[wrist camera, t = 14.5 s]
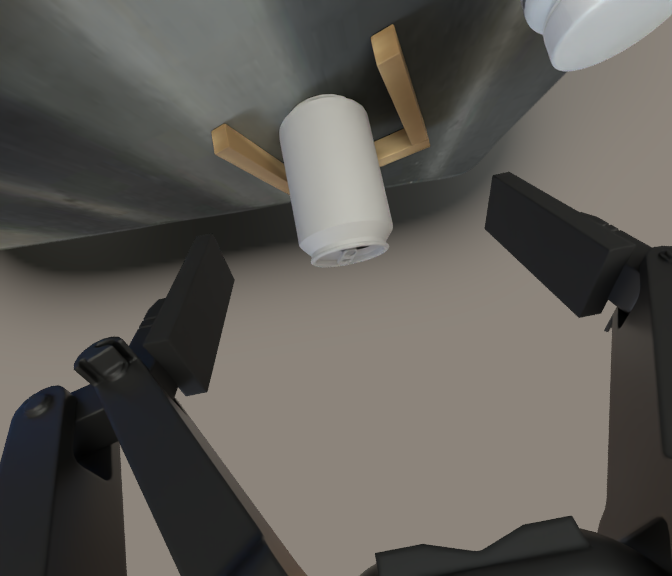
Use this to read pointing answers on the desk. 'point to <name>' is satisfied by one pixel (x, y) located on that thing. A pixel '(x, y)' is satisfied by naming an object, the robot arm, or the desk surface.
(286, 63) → the desk surface
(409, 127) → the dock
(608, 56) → the pill bottle
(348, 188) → the can
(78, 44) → the desk surface
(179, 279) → the robot arm
